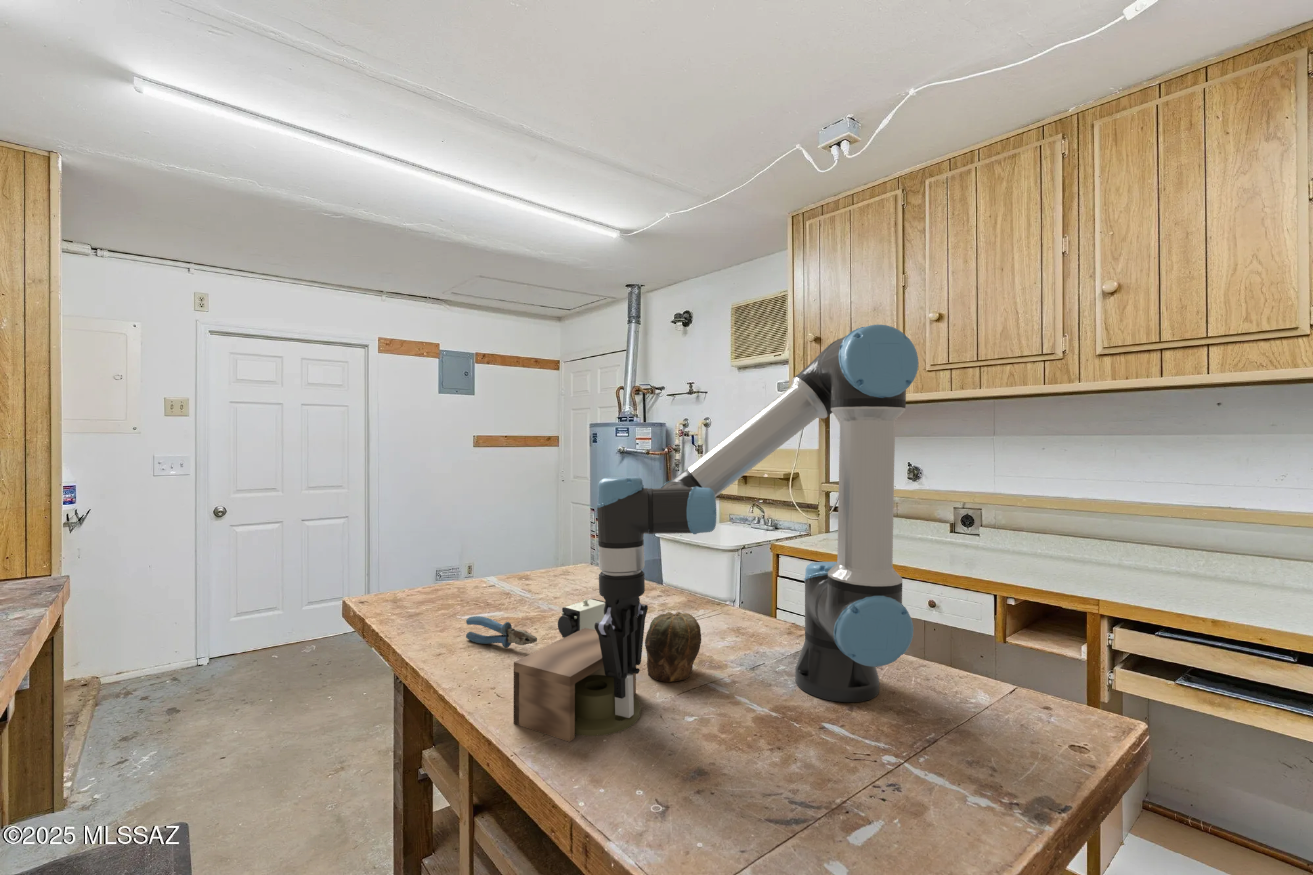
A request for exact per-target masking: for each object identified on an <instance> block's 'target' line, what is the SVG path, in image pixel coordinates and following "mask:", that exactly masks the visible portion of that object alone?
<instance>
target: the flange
mask: <svg viewBox="0 0 1313 875" xmlns="http://www.w3.org/2000/svg"><path fill="white" fill-rule="evenodd" d="M633 700H634V715H632V716H631V717H630V718H627V717H623V716H619V715H615V695H614V678H613V677H608V676H605V675H591V676H587V677H585V678H583V679H582V680H580V681H578V682H577V683H575V735H577V736H586V737H596V736H597V737H599V736H605V735H606V736H608V735H612V734H615V733H619V732H621V731H624V730H626V729H628V728H630V727H631V726H633V725H634V724H635V723H636V722H638V720H639V719H640V717H641V704H640V701H639V699H638V698H636V697H635V696H634V695H633ZM639 716H640V717H639ZM638 718H639V719H638Z"/></svg>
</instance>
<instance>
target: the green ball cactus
mask: <svg viewBox="0 0 1313 875" xmlns="http://www.w3.org/2000/svg"><path fill="white" fill-rule="evenodd" d="M701 643H702V632H701V626H700V624H699V621H697V619H696V618H695V617H694V616H693V615H692V614H690V613H687V612H683V613H682V612H681V611H677V612H675V613H673V612H670V611H668V612H666V613H661V614H658V615H656V616H655V617H654V618H653V619H652V620H651V622H650V624H649V627H648V629H647V632H646V635H645V641H644V647H645V651H646V658H647V659H646V667H647V675H648V677H650V678H652V679H655V680H656V681H659V682H663V683H672V682H677V681H678V682H680V681H684V680H686V679H689V677H690V676H691V674H692V672H693V667H694V666H693V665H694V663H695V661H696V659H697V656H698V654H699V652H700V649H701Z"/></svg>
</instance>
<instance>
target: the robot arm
mask: <svg viewBox="0 0 1313 875" xmlns="http://www.w3.org/2000/svg"><path fill="white" fill-rule="evenodd" d="M911 340H912V339H910V338H909V337H908V336H907V335H906V334H905V333H904V332H902V331H901V330H900V329H898V328H896V327H893V326H891V325H887V324H870V325H867V326H861V327H858V328H856V329H854V330H852V331H850V332H849V333H848V334H847V335H845V336H842V337H841V338H838V339H835V340H834V341H833V342H832V343H829V345H827V347H825V348H824V349H823V350H822V351H821V352H820V353H819V354H818V355H817V356H816V357H815V358H814V359H813V360H812V361H811V362H810V363H809V364H808V365H807V366H806V367H804V368H803V369H802V370H801V371H800V372H799V373H798V374H797V375H795V376H793V378H792V379H791V385H790V386H789V387H788V389H786V390H785V391H784V392H782V393H781V394H780V395H779V396H777V397H776V398H775V399H773V400H772V401H771V402H770V403H768V404H767V405H766V406H764V407H763V408H762V409H761V410H759V411H758V412H757V413H756V414H755V415H753V416H751V418H750V419H748V420H747V421H746V422H744V423H743V424H741V425H740V426H739V427H738V428H737V429H735V430H734V431H733V432H731V433H730V434H729V435H728V436H726V437H724V439H722V440H721V441H720V442H719V443H717V444H716V445H715V446H714V447H712V448H711V449H709V451H707V452H706V453H705V454H703V455H702V456H700V457H699V459H697V460H696V461H695V462H693V463H692V464H691V465H689V467H687V468H686V469H685V470H684V471H682V472H681V473H680V474H678V475H677V476H676V477H674V478H672V480H668V481H666V482H665V483H664V484H663V485H662V486H661V487H660V488H648V487H645V486H644V484H643V479H642V478H641V477H640V476H609V477H603V478H602V479H600V480H599V482H598V484H597V504H596V512H597V516H596V517H597V536H598V537H597V539H598V542H597V544H598V569H599V570H600V572H599V574H598V593H599V595H600V596H601V597H602V598H604V602H605V607H604V615H605V616H604V618H603V619H602V621H601V622H596V623H595V626H594V627H595V630H596V632H597V634H598V636H599V642H600V648H601V653H602V659H603V665H604V671H605V675H606V676H608V677H613V678H614V695H615V715H619V716H623V717H627V718H630V717H631V716H632V715H634V700H633V696H634V695H633V673H635V674H636V675H638V674H640V668H637V666H640V665H641V664H642V654H643V644H644V633H645V623H646V622H645V621H646V616H647V614H648V609H649V606H648V604H642V603H641V600H640V597H641V596H642V595H644V594H645V591H646V588H645V584H646V582H645V572H644V571H643V569H644V568H645V565H646V564H645V542H644V535H654V534H656V535H657V534H661V535H662V534H670V535H672V534H693V535H697V534H703V533H705V534H706V533H711V532H714V531H715V529H716V526H717V500H716V497H717V496H719V495H720V494H721V493H722V492H724V491H725V490H727V489H728V488H729V487H730V486H732V485H733V484H734V483H735V482H736V481H738V480H740V478H742V477H743V476H744V475H745V474H747V473H748V472H749V471H751V470H752V469H754V468H756V466H757V465H758V464H760V463H761V462H762V461H764V460H765V459H766V458H768V456H770V455H772V454H773V453H774V452H775V451H777V449H779V448H780V447H782V446H783V445H784V444H786V443H787V442H788V441H790V439H792V438H793V437H794V436H796V435H797V434H798V433H799V432H801V431H802V430H804V429H805V428H806V427H807V426H808V425H810V424H811V423H812V422H813V421H815V420H816V419H827V417H829V416H830V415H831V414H832V413H833V414H834V415H835V416H836V417H837V418H838V421H839V447H838V448H839V451H838V452H839V455H838V458H839V459H838V462H839V463H838V502H837V503H838V504H837V505H838V510H837V511H838V512H837V514H838V515H837V516H838V517H837V560H836V561H816V562H810V563H808V564H807V565H806V568H805V572H804V578H803V582H804V642H803V645H802V648H801V651H800V653H799V657H798V658H797V662H796V665H795V671H794V675H795V676H794V677H795V678H794V679H795V684H796V686H797V687H798V688H799V689H801V690H803V691H804V692H806V693H807V694H809V695H811V696H813V697H817V698H819V699H823V700H827V701H832V702H841V703H859V702H866V701H869V700H872V699H874V698H876V696H878V695H879V693H880V677H879V674H878V671H877V667H883V666H887V665H890V664H893V663H894V662H896V661H897V660H898V659H899V658H900V657H901V656H903V655H904V654H905V653H906V652H907V651H908V649H909V647H910V646H911V644H912V641H913V637H914V623H913V619H912V617H911V615H910V613H909V610H908V609H907V607H906V606H904V605H903V577H902V576H901V575H900V574H899V573H898V572H897V571H896V570H895V568H894V567H893V566H894V565H893V560H894V559H893V558H894V556H893V552H894V550H893V548H894V504H895V503H894V502H895V500H894V498H895V496H894V495H895V494H894V491H895V490H894V489H895V445H896V443H895V442H896V440H895V439H896V421H897V419H898V418H899V417H900V416H902V414H904V413H905V412H906V410H907V409H906V407H907V406H906V404H907V402H906V400H907V389H909V387H911V385H912V383H914V381H915V379H916V377H917V374H918V370H919V356H918V351H917V349H916V347H915V344H914V343H913V341H911Z"/></svg>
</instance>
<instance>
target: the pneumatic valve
mask: <svg viewBox="0 0 1313 875" xmlns="http://www.w3.org/2000/svg"><path fill="white" fill-rule="evenodd" d="M604 607H605V600H600V599H595V598H590V599H587V598H586V599H583V601H581V602H579V601H578V602H576V603H572V604H571V605H567V606H563V607H562V609H561V610H562V612H561V616H560V617H559V618H558V621H557V628H558V632H559V633H560V635H561V636H562V639H563V638H565V637H567V636H569V635H571V634H573V633H575V632H577V631H579V630H581V629H584V628H588V629H593V630H595V627H594V626H595V623H596V622H601V621H602V619H603V618H604V616H605V615H604Z"/></svg>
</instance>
